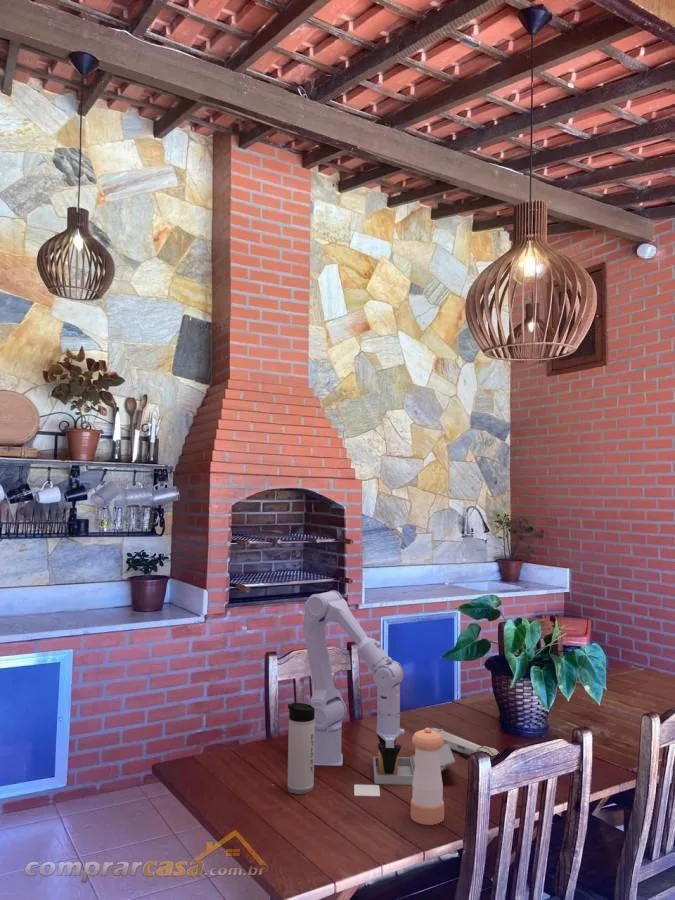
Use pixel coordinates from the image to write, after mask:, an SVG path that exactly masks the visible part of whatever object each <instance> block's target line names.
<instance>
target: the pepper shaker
mask: <svg viewBox="0 0 675 900" xmlns="http://www.w3.org/2000/svg"><path fill="white" fill-rule="evenodd" d="M430 728H431V727H426V728H424V729H421V730H418V731H416V732H414V734H413V735H412V738H411V742H412V745H413V746H414V748H415V752H414V753H415V754H414V755H415V770H414V777H413V783H412V785H411V786H412V787H411V788H412V798H411V800H410V818H411V819H412V821H414V822H415V823H418V824H420V825H426V826H435V825H439V824H441V823H443V822H444V820H445V802H444V800H443V792H444V785H443V784H444V783H443V777H442V772H441V770H440V769H441V768H440V749H441V748H442V746H443V744H444V740H443V737H442V736H441V734H440V733H438V732H436V731H433V730H431V729H430ZM442 821H443V822H442ZM440 822H441V823H440ZM438 823H439V824H438ZM434 824H435V825H434Z"/></svg>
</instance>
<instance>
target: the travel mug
mask: <svg viewBox="0 0 675 900" xmlns="http://www.w3.org/2000/svg"><path fill="white" fill-rule="evenodd" d="M287 709H288V711H289V712H288V739H287V740H288V743H287V745H288V746H287V747H288V748H287V749H288V752H287V791H288V792H289V793H291V794H293V793H294V794H293V795H306V793H309V792H311V791H313V790H314V786H315V785H314V782H315V765H314V735H315V721H314V720H315V715H314V714H315V709H314V708H313V707H312V706H311V705H310V704H309V703H304V702H303V703H302V702H293V703H288V704H287Z"/></svg>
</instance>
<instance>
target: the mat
mask: <svg viewBox="0 0 675 900" xmlns="http://www.w3.org/2000/svg"><path fill="white" fill-rule="evenodd" d="M353 787H354V788H353V789H354V790H353V791H354V792H353V793H354V794H353V795H354V796H353V797H381V791H380V790H381V789H380V784H354V786H353Z"/></svg>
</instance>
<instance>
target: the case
mask: <svg viewBox="0 0 675 900" xmlns="http://www.w3.org/2000/svg"><path fill="white" fill-rule="evenodd" d="M455 759H456V758H455V757H454V754H453V752H452V749H450V747H449V744H445V745H443V746H442V748H441V749H440V770H441V773H442V771H444V770H446V769H447V766H449V765H453V764H455V763H456V760H455ZM372 766H373V767H372V768H373V778H374V785H405V786H409V785H410V786H412V783H413V777H414V770H415V754H414V755H410V757H404V756H402V757H400V756H399V757H398V773H397V775H379V756H372Z"/></svg>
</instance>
